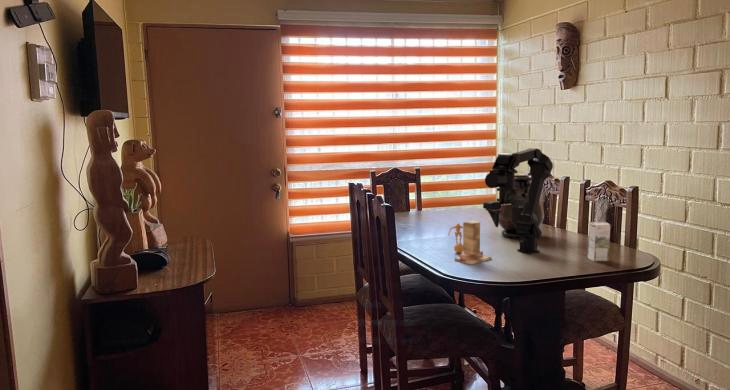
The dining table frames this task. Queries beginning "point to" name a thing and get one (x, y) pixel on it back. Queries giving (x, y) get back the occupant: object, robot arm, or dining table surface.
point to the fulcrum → (472, 258)
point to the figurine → (458, 246)
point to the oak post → (471, 237)
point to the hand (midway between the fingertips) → (506, 225)
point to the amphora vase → (506, 213)
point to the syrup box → (598, 241)
